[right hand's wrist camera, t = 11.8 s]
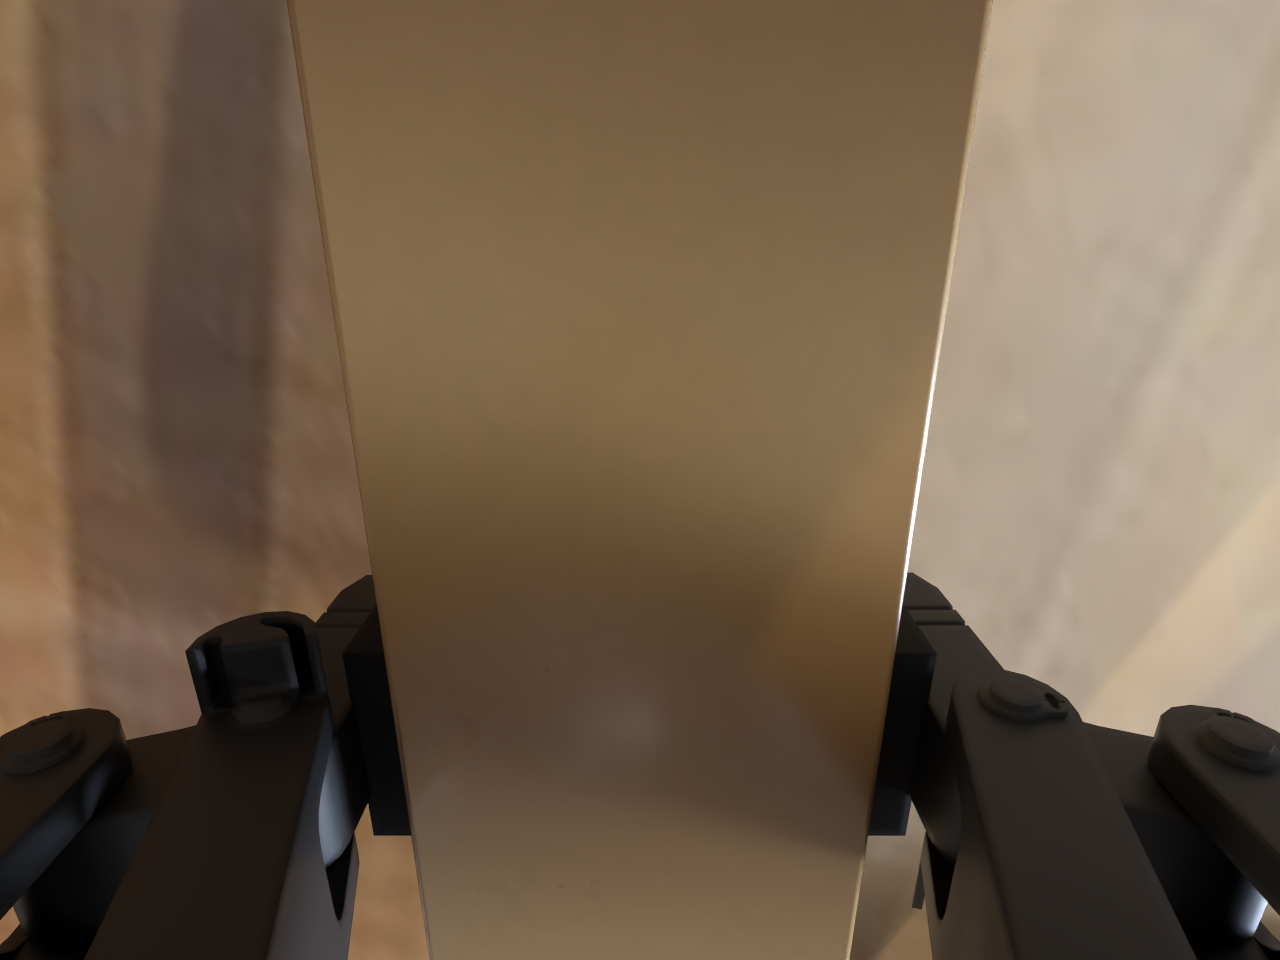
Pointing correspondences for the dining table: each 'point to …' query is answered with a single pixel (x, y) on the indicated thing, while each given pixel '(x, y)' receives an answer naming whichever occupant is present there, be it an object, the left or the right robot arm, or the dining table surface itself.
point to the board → (639, 439)
